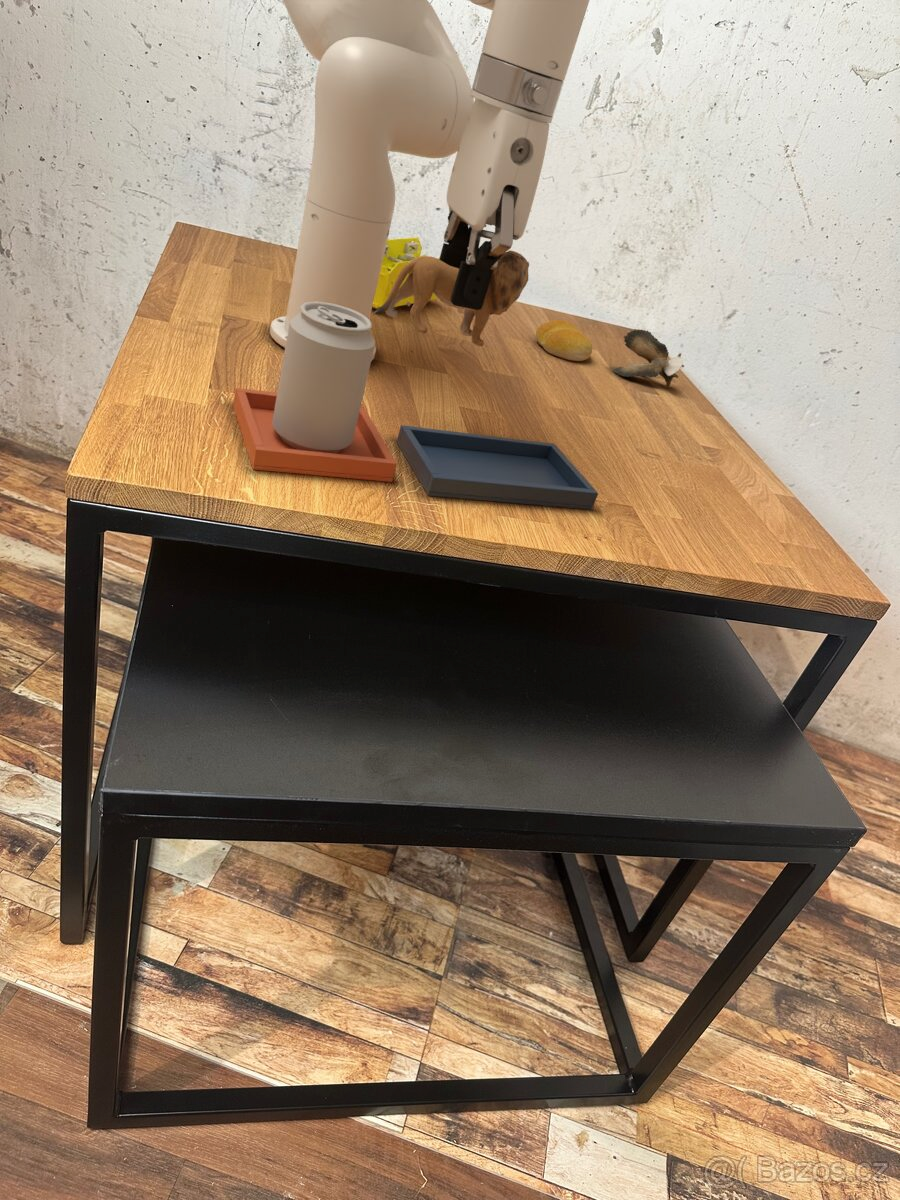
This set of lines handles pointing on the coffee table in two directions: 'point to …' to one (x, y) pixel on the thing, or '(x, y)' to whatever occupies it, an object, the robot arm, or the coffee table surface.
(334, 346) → the can
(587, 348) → the bread roll
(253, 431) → the terracotta tray
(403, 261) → the yellow toy chassis
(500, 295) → the lion figurine
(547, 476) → the slate tray
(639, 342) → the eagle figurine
